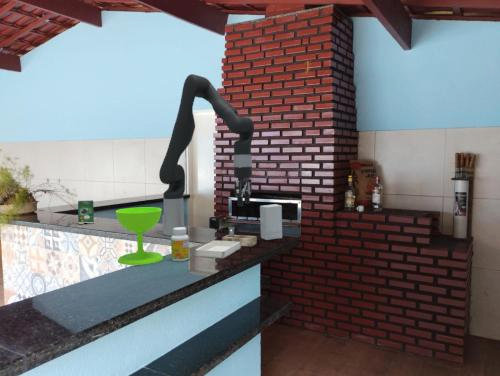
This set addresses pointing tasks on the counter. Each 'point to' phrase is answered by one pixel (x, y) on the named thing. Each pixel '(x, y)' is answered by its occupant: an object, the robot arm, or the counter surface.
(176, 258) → the supplement bottle
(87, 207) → the coffee box
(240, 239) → the tan irregular block
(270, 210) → the skincare box
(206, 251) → the tray
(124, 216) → the wineglass
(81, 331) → the counter surface
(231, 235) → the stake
